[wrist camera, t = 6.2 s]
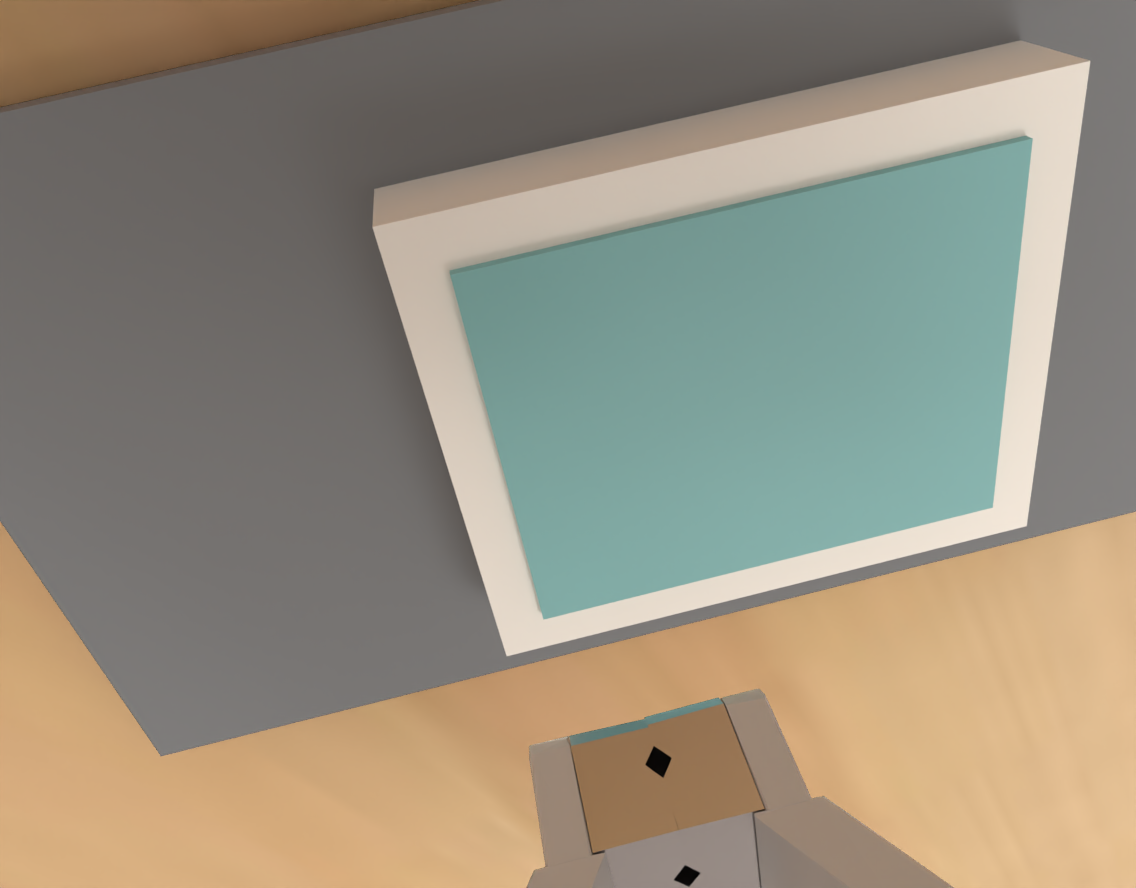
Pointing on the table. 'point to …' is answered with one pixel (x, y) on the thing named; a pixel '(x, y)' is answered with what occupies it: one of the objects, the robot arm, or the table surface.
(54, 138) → the mat
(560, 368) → the white picture frame
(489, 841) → the table surface
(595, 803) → the robot arm
